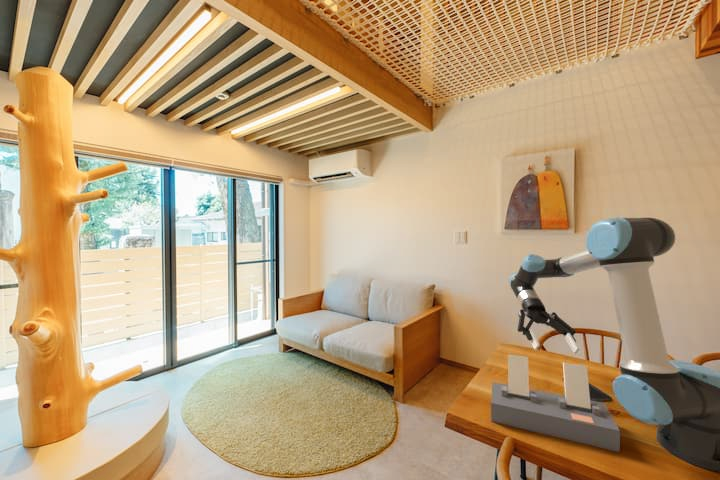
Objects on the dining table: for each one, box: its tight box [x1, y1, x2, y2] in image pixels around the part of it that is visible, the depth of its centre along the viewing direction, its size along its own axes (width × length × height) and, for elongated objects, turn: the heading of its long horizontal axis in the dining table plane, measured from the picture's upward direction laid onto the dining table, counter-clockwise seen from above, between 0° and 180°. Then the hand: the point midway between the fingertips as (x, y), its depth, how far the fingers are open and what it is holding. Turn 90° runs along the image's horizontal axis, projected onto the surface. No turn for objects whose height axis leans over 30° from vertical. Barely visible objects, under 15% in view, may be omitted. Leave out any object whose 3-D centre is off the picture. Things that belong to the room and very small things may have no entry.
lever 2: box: [562, 362, 591, 409], centre depth 93 cm, size 2×6×12 cm, turn 65°
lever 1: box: [507, 353, 530, 397], centre depth 99 cm, size 2×6×12 cm, turn 65°
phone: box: [562, 377, 613, 402], centre depth 111 cm, size 8×1×15 cm
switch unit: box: [490, 381, 621, 453], centre depth 94 cm, size 14×32×8 cm, turn 64°
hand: (557, 349), depth 102 cm, fingers open, 13 cm apart
